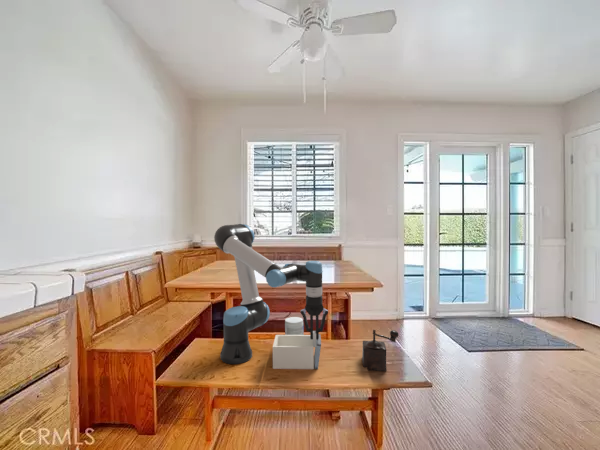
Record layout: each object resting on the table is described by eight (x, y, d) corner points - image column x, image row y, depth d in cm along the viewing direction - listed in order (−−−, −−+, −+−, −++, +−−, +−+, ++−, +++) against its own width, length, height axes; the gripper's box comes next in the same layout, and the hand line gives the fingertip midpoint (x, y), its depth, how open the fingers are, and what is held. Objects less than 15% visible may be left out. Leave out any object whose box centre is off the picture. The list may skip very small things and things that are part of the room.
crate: (272, 371, 147) (272, 346, 147) (276, 357, 161) (275, 334, 161) (313, 371, 147) (313, 347, 146) (313, 357, 161) (313, 335, 160)
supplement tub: (307, 348, 170) (307, 320, 170) (291, 353, 165) (291, 324, 164) (297, 342, 178) (296, 315, 178) (281, 346, 173) (281, 318, 172)
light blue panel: (314, 368, 147) (317, 345, 146) (313, 354, 161) (316, 332, 160) (318, 369, 147) (321, 345, 146) (317, 355, 160) (320, 333, 160)
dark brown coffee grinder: (362, 370, 147) (362, 330, 146) (361, 359, 158) (362, 322, 157) (398, 373, 145) (399, 332, 144) (395, 361, 156) (396, 323, 155)
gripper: (299, 297, 148) (300, 349, 149) (328, 297, 148) (329, 349, 149) (300, 293, 156) (300, 342, 157) (328, 293, 155) (328, 342, 156)
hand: (314, 345), depth 153 cm, fingers closed
